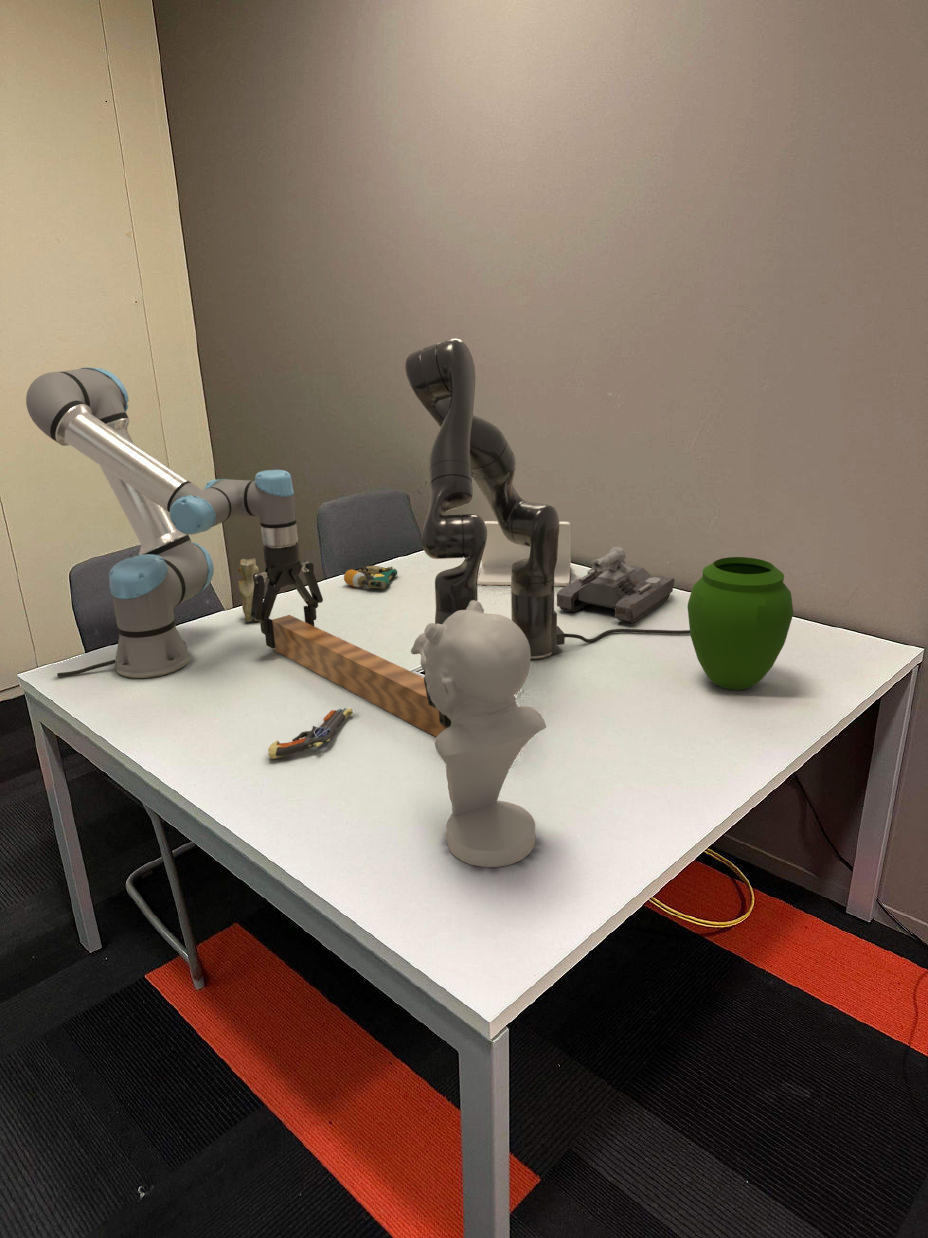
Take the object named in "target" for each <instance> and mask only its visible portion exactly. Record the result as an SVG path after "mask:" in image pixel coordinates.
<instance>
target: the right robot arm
mask: <svg viewBox="0 0 928 1238" xmlns="http://www.w3.org/2000/svg"><path fill="white" fill-rule="evenodd" d="M404 369H405V370H404V372H405V375H406V376H405V377H406V379H407V381H408V383H409V386H410V388H411V390H412V392H413V393H414V395H415V396H416V398H417V399H418V400H419V402H420V403H421V404H422V406H423V407H424V408H425V409H426V411H427V412H428V413H429V414H430V416H431V417H432V418H433V420H434V421H435V422H436V424H437V425H438V426H439V427H440V428H439V429H438V432H437V434H436V436H435V439H434V441H433V443H432V445H431V449H430V452H429V457H428V477H429V502H428V508H427V511H426V515H425V520H424V523H423V526H422V531H421V547H422V549H423V551H424V553H425V554H426V555H427V557H429V558H431V559H435V560H447V559H449V560H450V559H463V561H462V562H461V564H459V565H457V566H455V567H451V568H448V569H445V570H443V571H440V572H439V573H437V574H436V575H435V578H434V596H435V597H434V600H435V613H434V624H443V623H444V622H445V620H446V619H447V618H448V617H450V616H451V615H452V614H453V613H455V612H457V611H459V610H466V609H467V607H468V605H469V603H470V601H472V600H474V601H478V584H477V581H478V577H479V572H480V566H481V564H482V560H481V559H482V556H483V552H484V549H485V545H486V540H487V528H486V524H485V522H484V521H485V520H484V519H483V518H482V517H481V516H480V515H478V514H475V513H466V514H465V513H464V514H463V513H462V514H446V513H448V512H450V511H453V510H456V509H460V508H462V507H466V505H468V504H470V502H471V501H472V500H473V494H474V493H473V492H474V491H473V480H474V482H475V483H476V485H477V486H478V488H479V489H480V491H481V493H482V494H483V496H484V498H485V500H486V501H487V503H488V505H489V507H490V509H491V511H492V513H493V515H494V517H495V519H496V521H497V522H498V524H499V526H500V528H501V530H502V532H503V534H504V535H505V537H506V538H507V539H508V540H509V541H510V542H512V543H515V544H518V545H523V546H528V547H530V556H529V558H526V559H522V560H519V561H516V562H515V563H513V565H512V567H511V585H510V588H511V589H510V597H511V599H510V603H511V604H510V606H511V607H510V609H511V610H510V615H511V617H510V619H511V620H512V621H513V622H514V623H515V624H516V625H517V626H518V627H519V628H520V629H521V630H522V632H523V633H524V634H525V636H526V638H527V640H528V643H529V646H530V652H531V653H530V655H531V656H530V660H540V659H545V658H548V657H550V656H552V655H557V654H558V653H557V650H558V649H557V648H558V647H557V646H561V645H562V646H563V645H566V644H565V640H566V639H565V638H571V639H577V640H578V639H579V640H581V641H583V642H584V643H586V644H587V643H588V644H590V643H595V642H597V641H599V640H601V639H603V638H604V637H605V636H607V635H610V634H615V633H639V634H665V635H667V634H668V635H687V634H688V635H690V629H686V630H683V629H681V630H680V629H679V630H677V629H676V630H671V629H668V630H667V629H643V628H642V629H641V628H613V629H608V630H606V631H603V632H602V633H599V634H598V635H597V636H595V637H593V638H587V637H584V636H582V635H580V634H577V633H576V634H575V633H565V632H564V631H563V630H562V629H561V627H560V626H559V625H558V613H557V612H556V611H555V586H554V572H555V567H556V563H557V557H558V540H559V522H560V519H559V518H560V517H559V514H558V511H557V509H556V508H555V507H554V506H553V505H551V504H547V503H541V502H540V503H539V502H533V501H527V500H524V499H523V498H522V497H521V496H520V495H519V494H518V492H517V490H516V488H515V487H514V484H513V482H514V477H515V474H516V468H517V467H516V465H517V463H516V462H517V461H516V457H515V453H514V451H513V449H512V448H511V446H510V444H509V442H508V441H507V439H506V437H505V435H504V434H503V432H502V431H501V430H500V429H499V428H498V427H497V426H496V425H494V424H493V423H491V422H490V421H489V420H486V419H485V418H483V417H481V416H479V415H477V414H475V413H474V406H475V395H476V366H475V362H474V359H473V355H472V353H471V351H470V349H469V347H468V345H467V344H466V343H465V342H464V341H463V340H462V339H460V338H450V339H446V340H443V341H441V342H438V343H435V344H432V345H429V346H426V347H423V348H420V349H418V350H415V351H413V352H412V353H410V354H409V355H408V356H407V357H406V359H405V362H404ZM445 514H446V515H445ZM478 602H479V601H478ZM423 677H424V683H425V689H426V694H427V699H428V704H429V705H430V706H432V707H434V708H436V706H435V704H434V703H433V702H432V701H431V698H430V695H429V693H428V691H427V683H426V681H425V676H423ZM436 709H437V708H436ZM439 722H440V724H442V725H443V726H444V727H446V728H448V727H450V726H451V720H450V719H449V718H448V717H447V716H446V715H443V714H442V713H441V712H440V711H439Z"/></svg>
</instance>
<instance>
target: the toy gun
mask: <svg viewBox="0 0 928 1238" xmlns="http://www.w3.org/2000/svg"><path fill="white" fill-rule="evenodd" d="M353 713H354V712H353V708H346V707H344V708H343V709H342V708H339V709H332V710H330V711H329V712H328V713H327V714H326V715H325V716H324V718H323V723H322V724H321V725H319V726H316V725H312V729H310V730H305V731H301V732H300V733H299V734H298V735H297V736H296V737H294V738H292V741H288V742H280V741H279V740H275V741H274V742H273V743H271V744H270V745H269V746H268V749H267V751H268V756H269V759H271V760H274V759H278V758H283V757H285V756H290V755H293V754H297V753H300V752H304V751H307V750H309V749H312V748H319V747H321V746H323V745H324V744H325V743H328V742H329V741H331V739H332V738H333V737H334V736H335V734H336V732H337V730H338V728H339V727H341V725H342V723H343V722H344V721H345V720H346V719H347V718H348V717H349V716H352V715H353Z"/></svg>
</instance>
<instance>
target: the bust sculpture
mask: <svg viewBox="0 0 928 1238" xmlns="http://www.w3.org/2000/svg"><path fill="white" fill-rule="evenodd" d="M530 653H531V652H530V646H529V643H528V640H527V638H526V636H525V634H524V633H523V632H522V630H521V629H520V628H519V627H518V626H517V625H516V624H515V623H514V622H513V621H512V620H511V618H508V617H507V616H504V615H503V614H502V615H501V614H496V613H485V609H484V607H483V605H482V603H481V602H480V601H474V600H472V601H470V603H469V605H468V607H467V609H466V610H459V611H457V612H455V613H453V614H452V615H451V616H450V617H448V618H447V619H446V620H445V622H444V623H443V624H435V622H430V623H428V624H427V625H426V626H425V628H424V632H423V633H421V634H419V635H418V636H417V637H416V638H415V640H414V642H413V645H412V647H411V649H410V654H412V655H420V667H421V669H422V670H423V672H424V677H425V681H426V683H427V691H428V693H429V695H430V698H431V701H432V702H433V703H434V704H435V706H436V708H437V709H438V710H439V711H440V712H441V713H442V714H443V715H446V716H447V717H448V718H449V719H450V720H451V726H450V727H448V728H446V729H445V730H443V731H442V732H441V733H440V734H439V735H438V736H437V737H435V741H434V748H435V749H436V752H437V753H438V755H439V757H440V758H441V760H442V761H443V762H444V763H445V771H446V781H447V790H448V796H449V800H450V803H451V810H452V813H451V814H450V815H449V817H448V819H447V822H446V844H447V847H448V849H449V851H450V852H451V854H452V855H453V856H454V857H456V858H457V859H459V860H460V861H462V862H463V863H466V864H469V865H471V866H476V867H483V868H498V867H505V866H509V865H512V864H517V862H520V861H521V860H523V859H525V858H527V856H528V855H530V854H531V852H532V851H533V849H535V848H534V847H535V845H536V822H535V821H536V820H535V819H534V817H533V816H532V814H531V813H530V812H529V811H528V810H526V809H525V808H524V807H522V806H520V805H517V804H515V803H513V802H509V801H504V800H499V796H500V793H501V790H502V788H503V785H504V783H505V780H506V778H507V776H508V773H509V771H510V769H511V768H512V765H513V763H514V761H515V760H516V759H517V756H518V755H519V753H520V752H521V750H522V749H523V748H524V747H525V745H526V744H527V743H528V742H529V741H530V740H531V739H532V738H533V737H535V735H537V734H538V733H539V732H541V731H544V730H545V729H546V728H547V725H546V723H545V720H544V718H543V717H542V714H541V713H540V712H539V711H538V710H537V709H535V708H533V707H530V706H518V705H517V701H516V699H517V698H516V696H515V695H516V694H517V693H519V691H521V689H522V688H523V686H524V684H525V683H526V680H527V678H528V675H529V669H530V666H531V659H530V656H531V655H530Z"/></svg>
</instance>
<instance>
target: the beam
mask: <svg viewBox="0 0 928 1238" xmlns="http://www.w3.org/2000/svg"><path fill="white" fill-rule="evenodd" d="M271 620H272V622H273V630H274V639H275V648H273V651H274V652H276V653H279V654H281V655H282V656H284V657H286V658H288V659H290V660H291V661H293V662H295V663H297V664H299V665H301V666H303V667H304V668H306V669H308V670H310V671H312V672H313V673H316V674H318V675H320V676H321V677H323V678H325V679H326V680H328V681H330V682H333V684H336V685H338V686H339V687H341V688H344V689H346V690H347V691H349V692H351V693H353V694H355V695H357V696H359V697H361V698H362V699H364V700H366V701H368V702H370V703H372V704H374V705H376V706H377V707H379V708H381V709H383V710H385V711H387V712H388V713H390V714H392V715H394V716H395V717H398V718H400V719H401V720H404V721H405V722H407V723H409V724H411V725H412V726H414V727H416V728H418V729H420V730H422V731H423V732H425V733H427V734H429V735H431V736H432V737H435V738H436V737H437V736H438V735H439V734H440V733H441V732H442V731H443V730H445V729H446V727H444V726H443V725H442V724H440V722H439V710H438V709H436V708H434V707H432V706H430V705H429V704H428V699H427V694H426V689H425V683H424V677H425V676H422V675H419V674H417V673H416V672H413V671H411V670H408V669H407V668H404V667H402V666H400V665H398V664H396V663H394V662H391V661H390V660H387V659H386V658H383V657H381V656H379V655H376V654H374V653H372V652H370V651H369V650H365V649H364V648H361V647H359V646H357V645H355V644H354V643H350V642H349V641H346V640H344V639H343V638H341V637H338V636H337V635H335V634H334V635H333V634H332V633H329V632H327V631H326V630H323V629H321V628H319V627H316V626H315V625H314V626H312V625H310V624H308V623H306V622H305V620H302V619H299V618H297V617H295V616H293V615H291V614H287V615H284V616H281V617H276V618H273V619H271Z"/></svg>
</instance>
